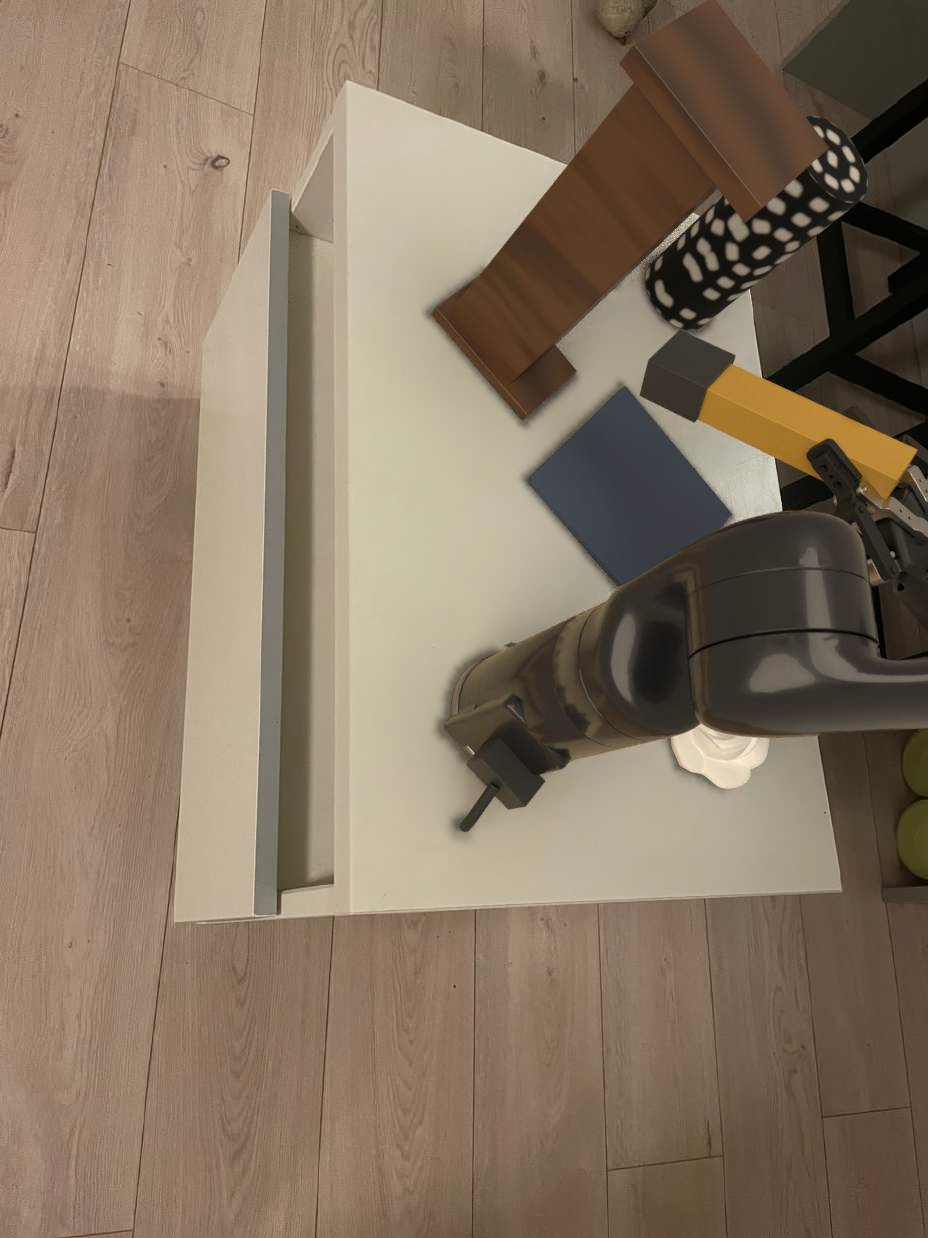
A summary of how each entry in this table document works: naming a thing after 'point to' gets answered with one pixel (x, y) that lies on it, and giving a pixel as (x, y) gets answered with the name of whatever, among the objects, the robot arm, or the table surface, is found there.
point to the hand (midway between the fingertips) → (830, 430)
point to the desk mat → (627, 490)
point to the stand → (631, 196)
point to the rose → (719, 755)
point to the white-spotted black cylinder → (754, 236)
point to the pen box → (764, 412)
